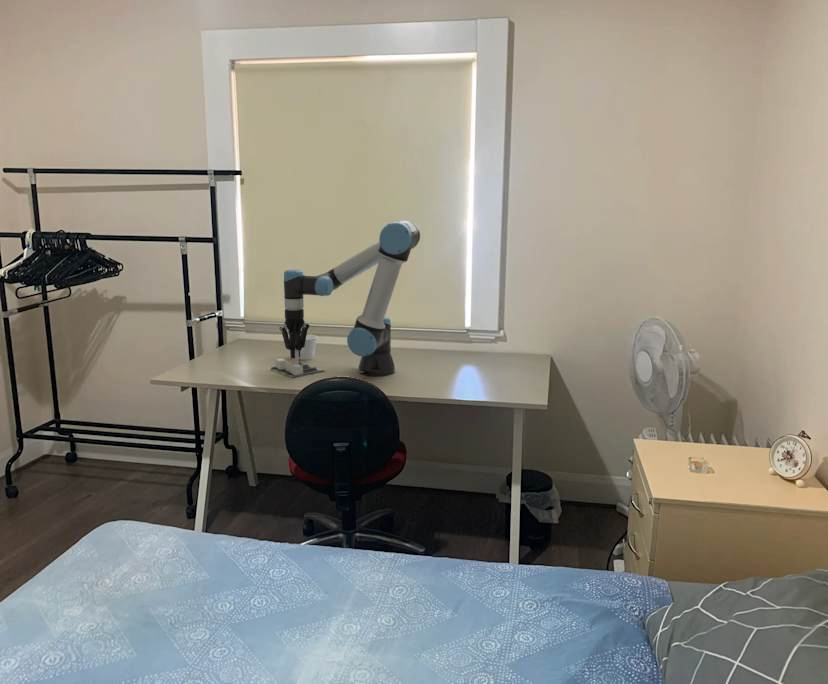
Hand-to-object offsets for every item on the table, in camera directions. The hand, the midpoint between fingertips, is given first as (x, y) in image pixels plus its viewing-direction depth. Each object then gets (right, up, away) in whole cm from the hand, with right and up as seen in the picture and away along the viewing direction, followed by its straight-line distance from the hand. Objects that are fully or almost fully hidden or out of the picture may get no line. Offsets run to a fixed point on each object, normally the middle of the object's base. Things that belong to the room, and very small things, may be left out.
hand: (295, 365), depth 282 cm
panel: (+1, -3, +1) cm, 4 cm away
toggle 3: (+2, -4, -6) cm, 7 cm away
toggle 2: (-2, -2, -1) cm, 3 cm away
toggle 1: (-6, -1, +2) cm, 7 cm away
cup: (+1, +1, +21) cm, 21 cm away
